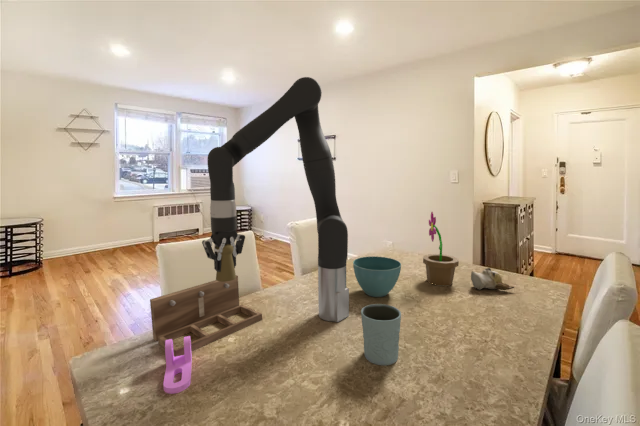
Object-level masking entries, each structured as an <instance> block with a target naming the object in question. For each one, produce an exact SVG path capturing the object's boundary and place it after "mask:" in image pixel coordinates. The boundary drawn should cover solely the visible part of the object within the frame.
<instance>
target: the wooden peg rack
mask: <svg viewBox="0 0 640 426" xmlns="http://www.w3.org/2000/svg"><path fill="white" fill-rule="evenodd" d="M239 289H240V288H239V275H237V274H236V278H235V279H234V280H231V281H226V282H221V281H217V280H216V279H215V280H211V281H208V282H205V283H201V284H198V285H194V286H191V287H187V288H184V289H181V290H177V291H174V292H171V293H167V294H164V295H161V296H157V297H153V298H151V299H149V303H150V304H149V305H150V306H149V307H150V314H151V325H152V326H151V327H152V339H153V340H154V341H155V342H158V344H159V345H160V346H161V347H162V348H164V349H165V341H166V340H169V339H172V340H175V339H177V338H180V337H182V336H185V335H187V334H191V333H192V334H193V335H195V336H196V337H197V338H198V339H196V340H193V341H191V352H194V351H196V350H197V349H198V350H199V349H200V348H202V347H204V346H207V345H208V344H209V345H210V344H211V343H213V342H215V341H218V340H219V339H222V338H224V337H227V336H228V335H231V334H234V333H235V332H237V331H240V330H242V329H245V328H247V327H250V326H251V325H254V324H255V323H258V322H261V321H262V320H263V313H261V312H260V311H256V310H254V309H252V308H250V307H248V306H246V305H244V304H240V293H239V292H240V291H239ZM241 313H243V314H245V315H247V316H248V317H247V318H245V319H243V320H240V321H238V322H236V321H234V320H231V319H230V318H229V317H232V316H234V315H238V314H241ZM215 323H220V324H221V325H223V326H225V327H224V328H222V329H219V330H217V331H214V332H212V333H207V332H206V331H205V330H203V329H202V328H205V327H207V326H210V325H212V324H215ZM173 352H174V357H176V356H181V355H184V344H183V345H181V346H179V347H177V346H176V344H174V343H173Z"/></svg>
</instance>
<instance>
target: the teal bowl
mask: <svg viewBox="0 0 640 426" xmlns="http://www.w3.org/2000/svg"><path fill="white" fill-rule="evenodd" d="M352 264H353V265H352V268H353V273H354V276H355V279H356V281H357V283H358V285H359V287H360V288H361V289H362V291H363V292H364V293H365V294H366V295H368V296H369V297H372V298H382V297H386V296H387V295H388V294H389V293H391V292H392V290H393V289H394V287H395V286H396V284H397V282H398V280H399V278H400V275H401V271H402V269H401V268H402V263H401V262H400V261H399V260H397V259H395V258H391V257H386V256H378V255H377V256H375V255H374V256H362V257H358V258H356V259H354V260H353V262H352Z"/></svg>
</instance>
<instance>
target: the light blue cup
mask: <svg viewBox="0 0 640 426" xmlns="http://www.w3.org/2000/svg"><path fill="white" fill-rule="evenodd" d="M360 315H361V316H360V317H361V318H360V319H361V327H362V338H363V353H364V358H365V359H366V360H367V361H368V362H370V363H371V364H374V365H378V366H390V365H393V364H395V363H396V362H397V361H398V359H399V351H400V346H399V343H400V332H401V320H402V312H401V310H400V309H398V308H397V307H395V306H393V305H389V304H385V303H383V304H382V303H375V304H374V303H373V304H368V305H366V306H364V307H362V308H361V310H360Z"/></svg>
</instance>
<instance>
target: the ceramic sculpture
mask: <svg viewBox="0 0 640 426" xmlns="http://www.w3.org/2000/svg"><path fill="white" fill-rule="evenodd" d="M470 279H471V282H472V286H473V288H474V289H476V288H477V289H476V290H480V291H481V290H482V289H484V288H485V289H487V288H488V290H496V289H497V290H499V291H508V290H511V289H512V290H513V289H515V286H511V285H509V284H508V283H505V282H503V279H502V276H501V274H500V273H499V272H497V271H496V270H491V268H490V267H488V268H484V269H483V270H482V272H476V271H471V273H470Z"/></svg>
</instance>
